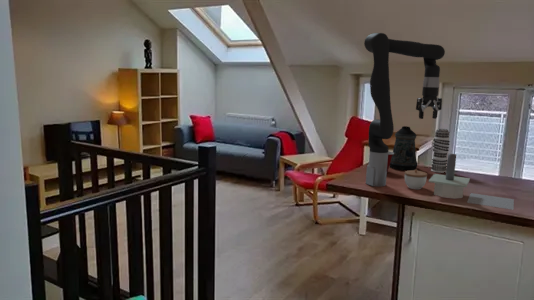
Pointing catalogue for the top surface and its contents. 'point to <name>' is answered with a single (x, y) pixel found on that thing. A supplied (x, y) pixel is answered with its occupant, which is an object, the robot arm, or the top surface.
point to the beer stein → (404, 150)
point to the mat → (491, 201)
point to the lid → (450, 175)
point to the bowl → (448, 191)
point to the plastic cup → (389, 159)
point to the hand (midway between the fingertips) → (427, 118)
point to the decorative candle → (440, 150)
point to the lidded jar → (415, 179)
